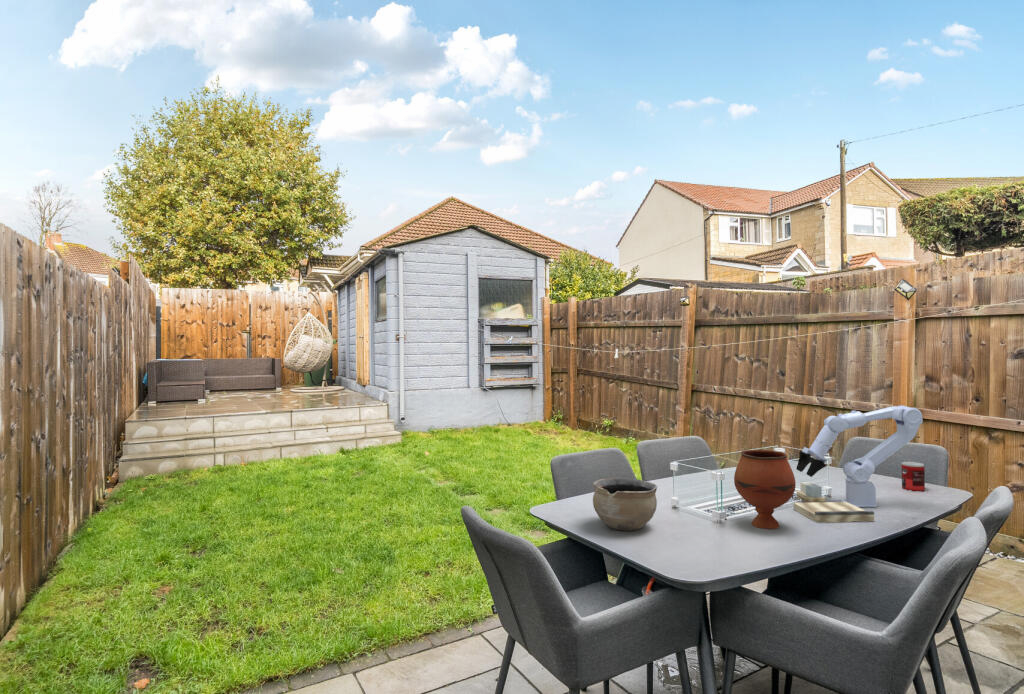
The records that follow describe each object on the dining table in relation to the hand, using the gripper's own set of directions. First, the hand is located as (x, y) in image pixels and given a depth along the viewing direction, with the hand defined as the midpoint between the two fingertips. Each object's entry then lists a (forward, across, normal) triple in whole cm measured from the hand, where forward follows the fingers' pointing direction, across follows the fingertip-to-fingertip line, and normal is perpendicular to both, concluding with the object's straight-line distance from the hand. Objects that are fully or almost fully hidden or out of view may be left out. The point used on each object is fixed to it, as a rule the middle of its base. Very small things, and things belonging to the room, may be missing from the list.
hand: (803, 473), depth 218 cm
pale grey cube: (+6, -5, +5) cm, 9 cm away
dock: (+8, +3, +19) cm, 21 cm away
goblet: (+21, +31, +16) cm, 41 cm away
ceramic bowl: (+45, +68, -3) cm, 81 cm away
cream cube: (+6, -7, +2) cm, 10 cm away
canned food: (-15, -56, +11) cm, 59 cm away
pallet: (+9, -8, +4) cm, 12 cm away
